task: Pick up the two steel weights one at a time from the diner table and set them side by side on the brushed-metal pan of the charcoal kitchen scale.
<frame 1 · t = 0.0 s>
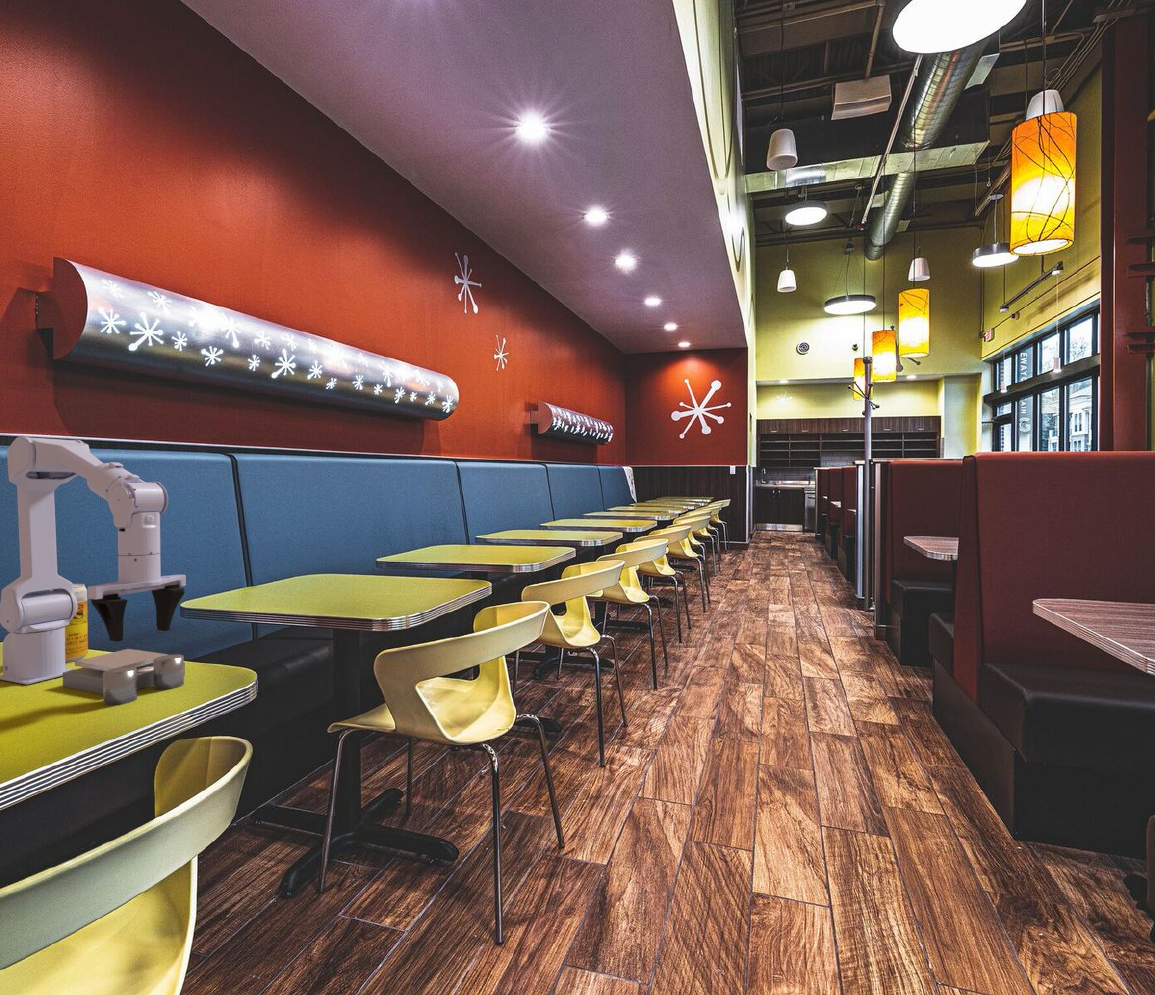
hand: (140, 635, 101), 10 cm above the table, tool pointing down, fingers open, 7 cm apart
steel weight B: (169, 686, 106), on the table
beer can: (68, 660, 123), on the table
scale base: (127, 681, 109), on the table
steel weight A: (120, 701, 99), on the table
scale pan: (122, 660, 109), point 4 cm above the table, slide at 0.3 cm
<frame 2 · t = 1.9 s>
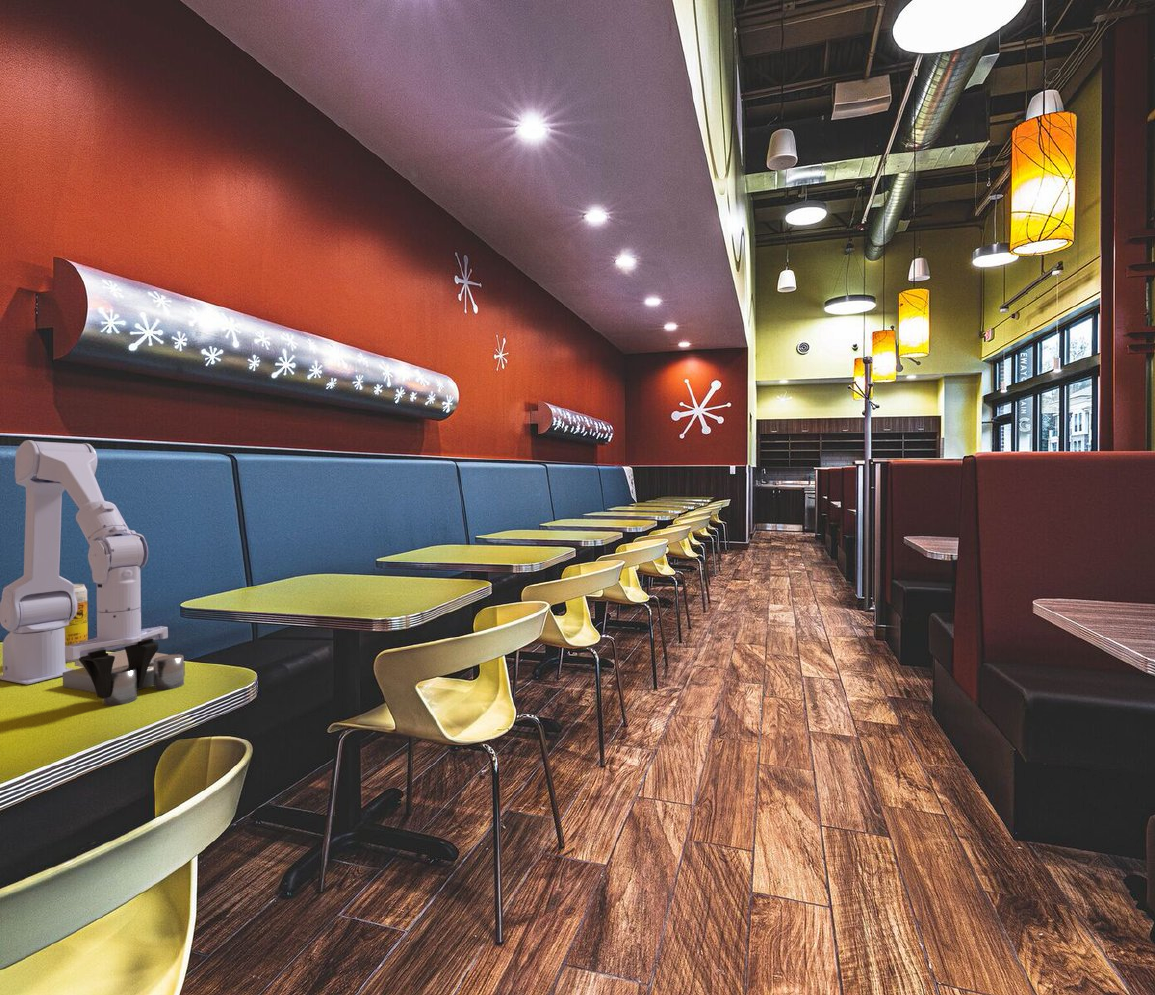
hand: (120, 692, 99), 1 cm above the table, tool pointing down, fingers closed on steel weight A, 4 cm apart
steel weight A: (120, 700, 99), on the table, touching gripper
everything else where it was.
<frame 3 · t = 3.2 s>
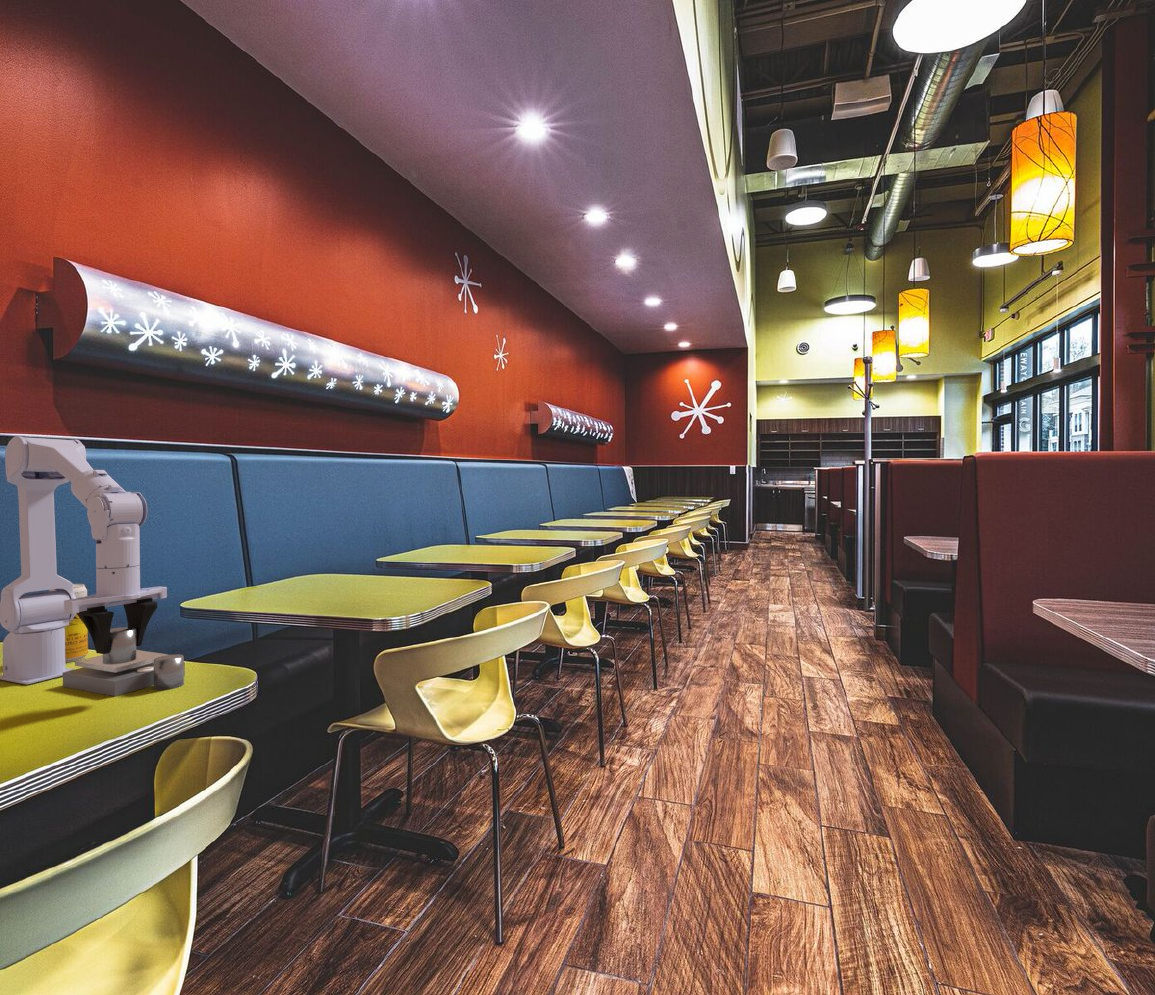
hand: (119, 649, 99), 8 cm above the table, tool pointing down, fingers closed on steel weight A, 4 cm apart
steel weight A: (119, 660, 99), point 6 cm above the table, touching gripper
everything else where it was.
when the fingers open (7 cm above the table, at t = 4.9 s): steel weight A stays where it is, resting on scale pan.
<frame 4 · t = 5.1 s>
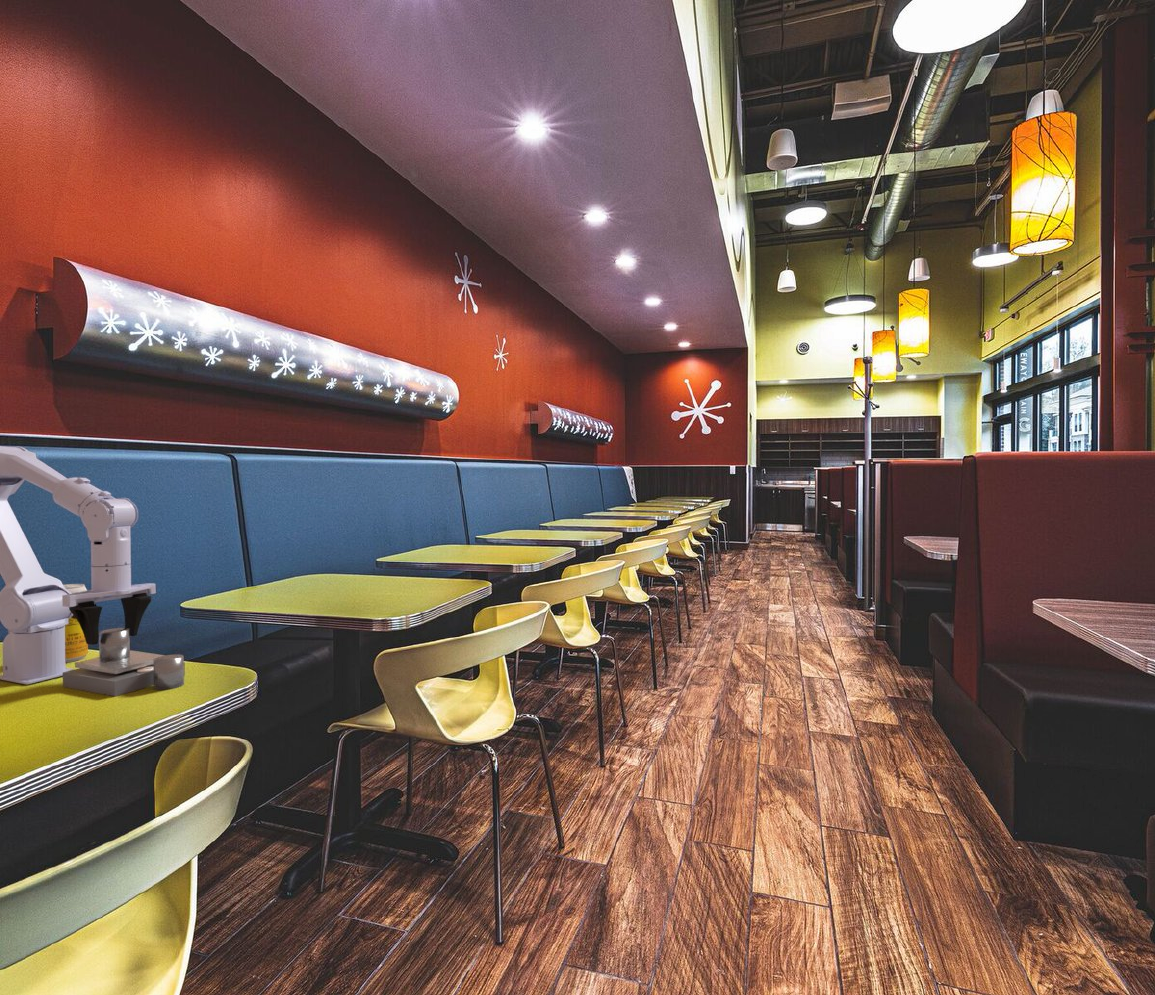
hand: (112, 639, 110), 7 cm above the table, tool pointing down, fingers open, 6 cm apart
steel weight A: (114, 658, 110), point 4 cm above the table, touching scale pan
scale pan: (122, 661, 109), point 3 cm above the table, slide at 0.5 cm, touching steel weight A
everything else where it was.
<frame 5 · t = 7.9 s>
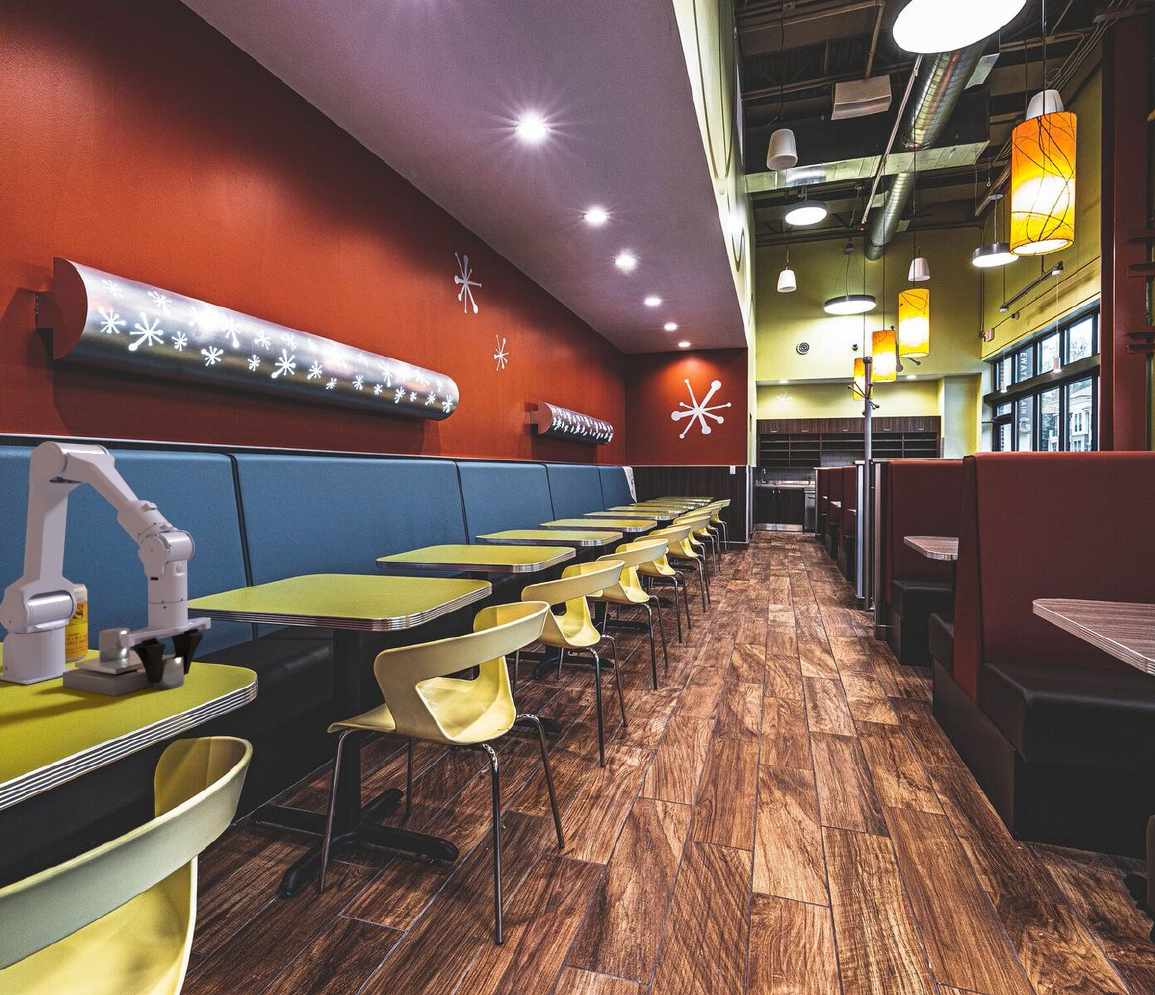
hand: (168, 677, 106), 1 cm above the table, tool pointing down, fingers closed on steel weight B, 4 cm apart
steel weight B: (169, 685, 106), on the table, touching gripper
everything else where it was.
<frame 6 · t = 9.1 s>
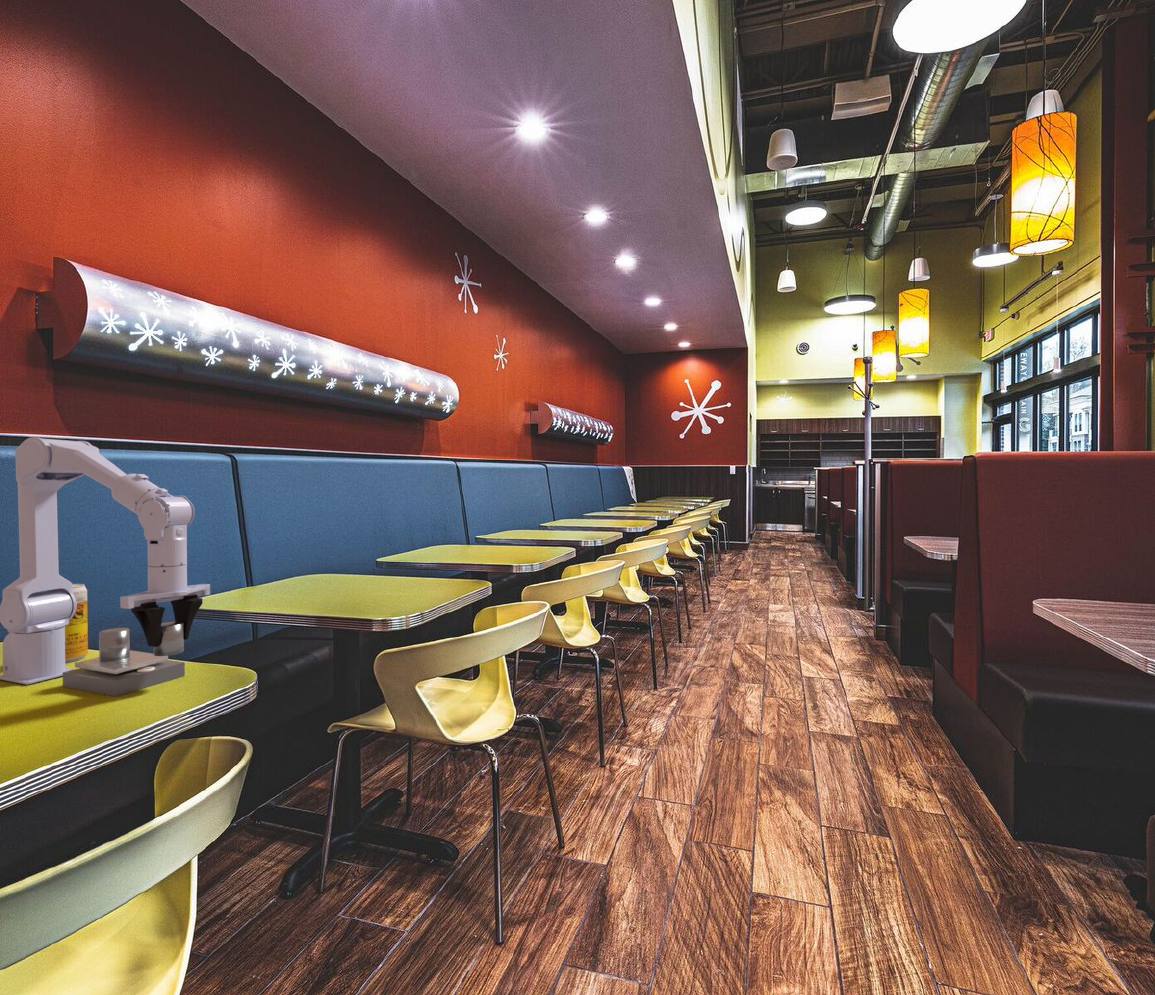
hand: (168, 642, 106), 8 cm above the table, tool pointing down, fingers closed on steel weight B, 4 cm apart
steel weight B: (168, 652, 106), point 6 cm above the table, touching gripper
everything else where it was.
when the fingers open (7 cm above the table, at t = 10.6 s): steel weight B drops 1 cm, resting on scale pan.
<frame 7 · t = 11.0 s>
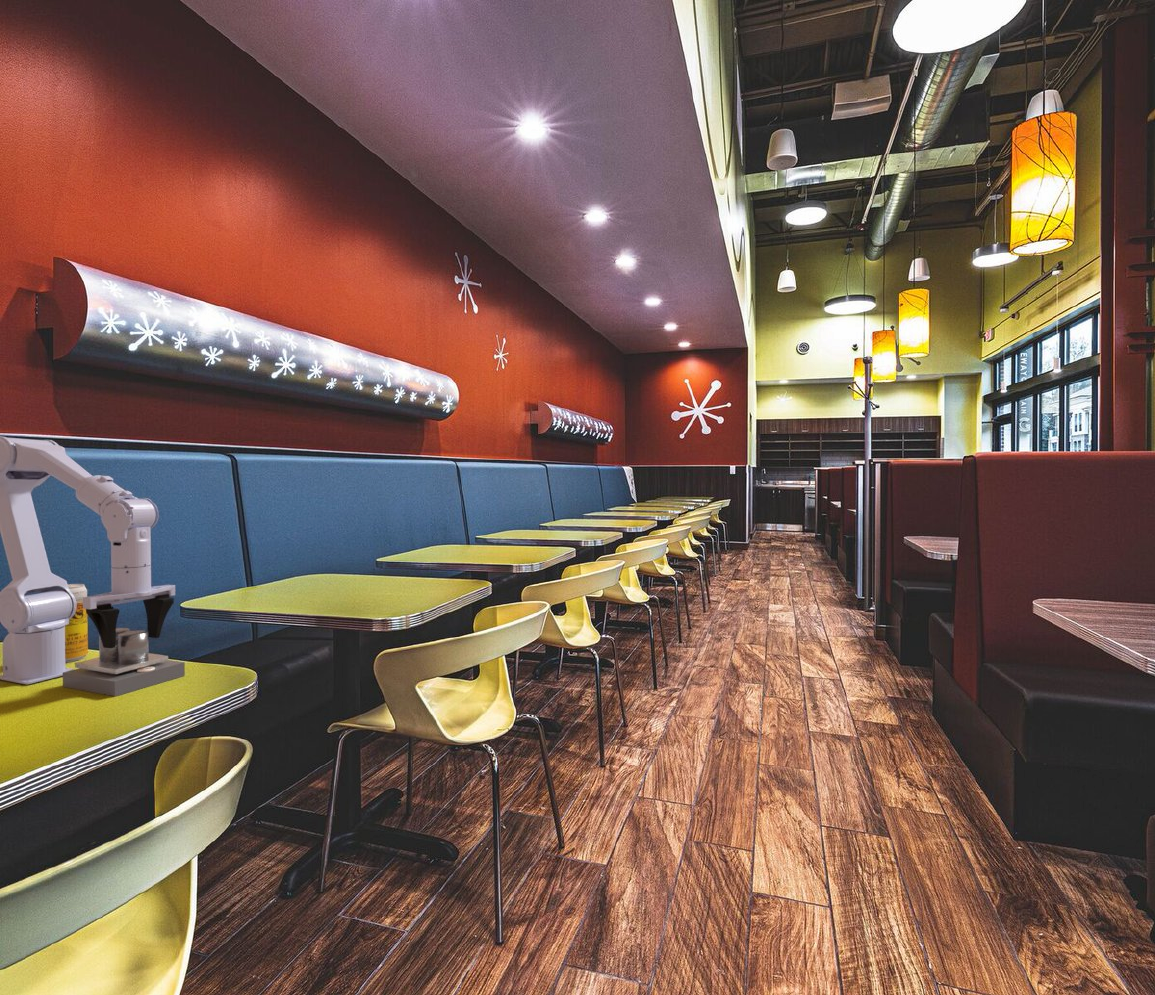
hand: (132, 642, 108), 7 cm above the table, tool pointing down, fingers open, 7 cm apart
steel weight B: (133, 661, 108), point 4 cm above the table, touching scale pan
scale pan: (122, 661, 109), point 3 cm above the table, slide at 0.6 cm, touching steel weight A, steel weight B
everything else where it was.
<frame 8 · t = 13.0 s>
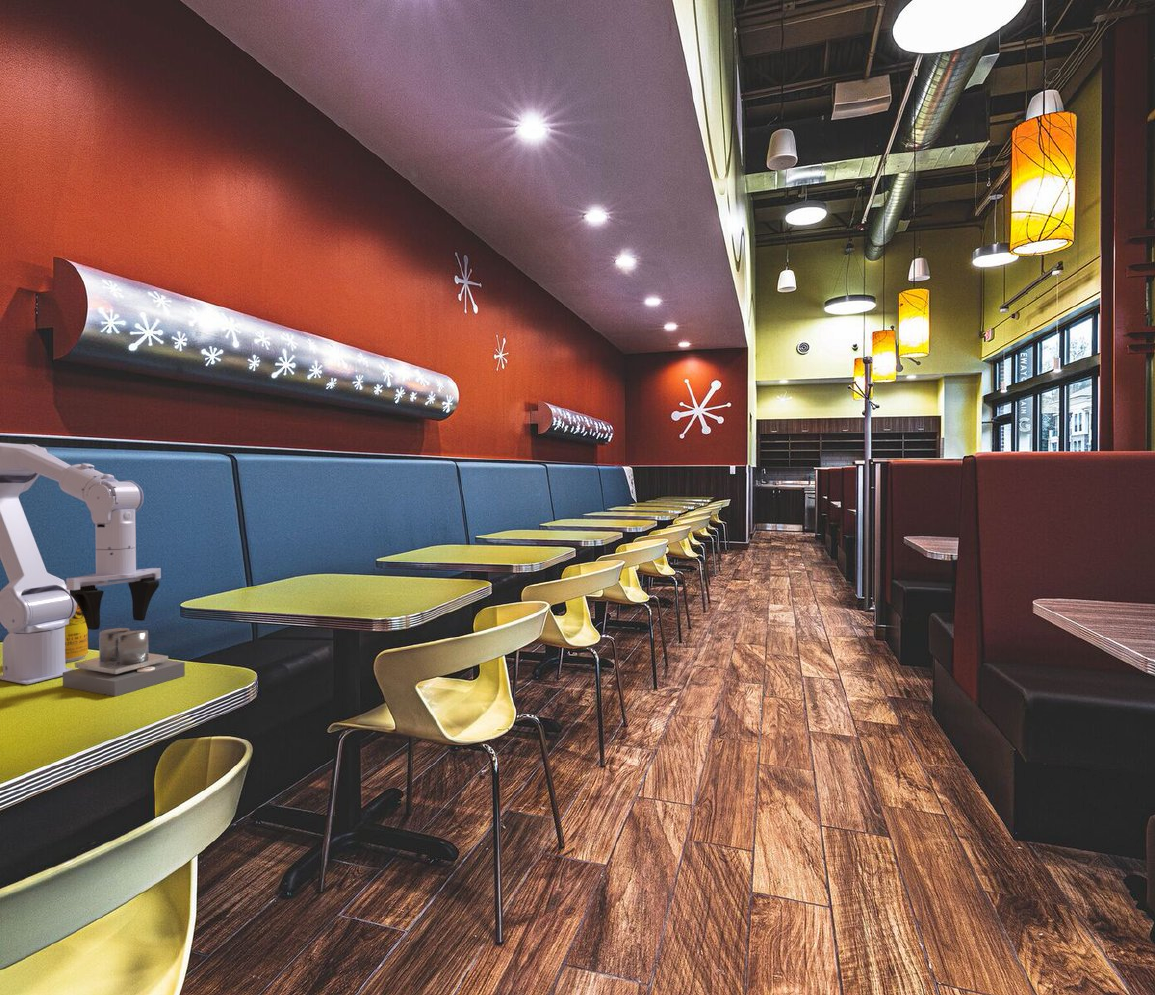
hand: (116, 624, 108), 10 cm above the table, tool pointing down, fingers open, 7 cm apart
nothing on the table moved.
at the end: steel weight A inside the target area on the scale base (1.8 cm from its centre), point 3.8 cm above the scale base's base; steel weight B inside the target area on the scale base (3.3 cm from its centre), point 3.9 cm above the scale base's base; steel weight B tilted 1° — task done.
